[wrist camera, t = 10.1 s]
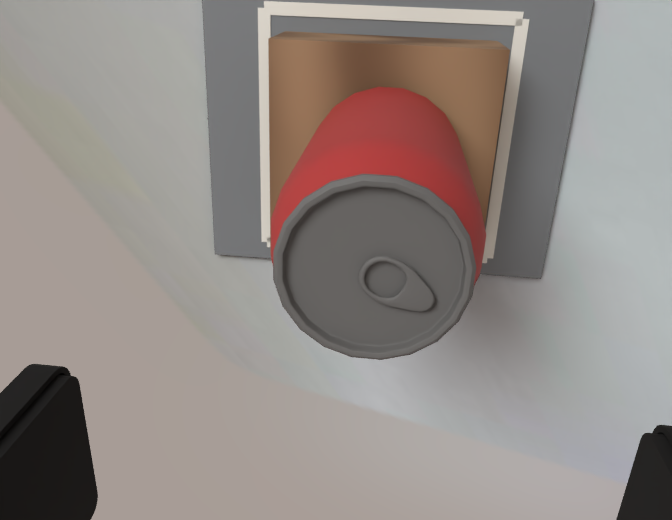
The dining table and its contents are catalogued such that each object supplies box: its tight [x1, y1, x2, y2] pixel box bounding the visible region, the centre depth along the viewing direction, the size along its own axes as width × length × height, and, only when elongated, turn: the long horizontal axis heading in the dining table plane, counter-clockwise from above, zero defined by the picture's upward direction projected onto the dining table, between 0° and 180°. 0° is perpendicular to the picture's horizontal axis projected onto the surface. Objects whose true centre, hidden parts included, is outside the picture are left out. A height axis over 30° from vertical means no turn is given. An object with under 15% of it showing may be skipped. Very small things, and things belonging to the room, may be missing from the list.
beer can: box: [271, 87, 486, 360], centre depth 22 cm, size 7×7×12 cm
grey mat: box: [202, 0, 594, 279], centre depth 32 cm, size 18×14×1 cm
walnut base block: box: [268, 31, 510, 256], centre depth 30 cm, size 10×10×4 cm
